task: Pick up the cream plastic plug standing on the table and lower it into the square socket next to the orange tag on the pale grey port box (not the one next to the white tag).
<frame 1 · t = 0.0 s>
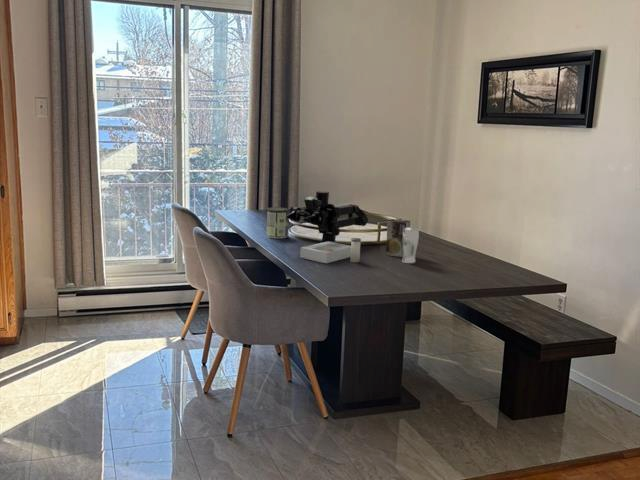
hand: (295, 218, 288), 17 cm above the table, tool horizontal, fingers open, 9 cm apart
coffee can: (276, 236, 330), on the table
coffee box: (396, 255, 302), on the table
plug: (354, 261, 286), on the table
beer glass: (408, 262, 289), on the table
port box: (326, 256, 291), on the table
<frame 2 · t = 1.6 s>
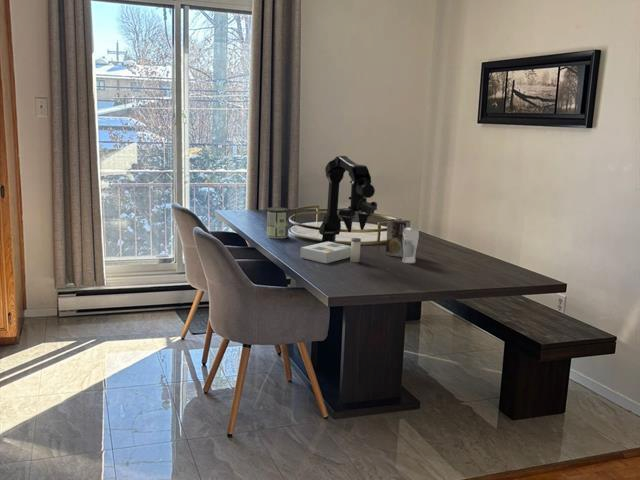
hand: (355, 231, 283), 13 cm above the table, tool pointing down, fingers open, 9 cm apart
nothing on the table moved.
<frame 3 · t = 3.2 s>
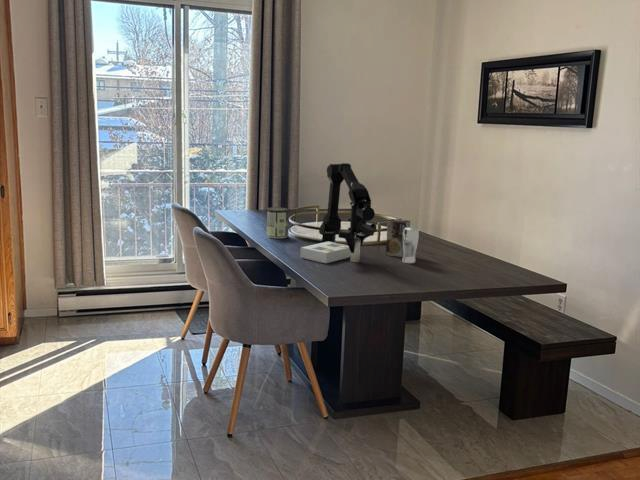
hand: (355, 252, 285), 4 cm above the table, tool pointing down, fingers closed on plug, 4 cm apart
plug: (354, 261, 286), on the table, touching gripper
everything else where it was.
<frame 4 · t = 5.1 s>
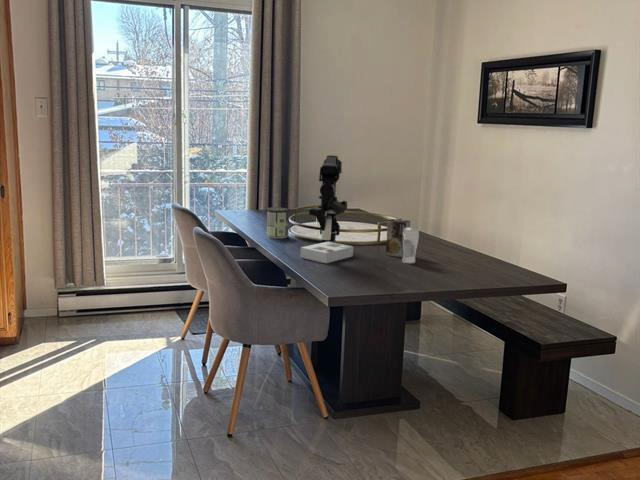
hand: (326, 229, 284), 13 cm above the table, tool pointing down, fingers closed on plug, 4 cm apart
plug: (325, 239, 285), point 9 cm above the table, touching gripper
everything else where it was.
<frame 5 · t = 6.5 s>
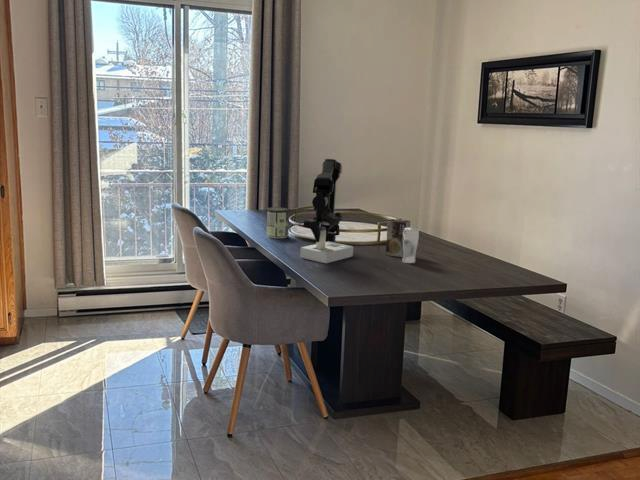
hand: (320, 241, 286), 8 cm above the table, tool pointing down, fingers closed on plug, 4 cm apart
plug: (320, 250, 287), point 4 cm above the table, touching gripper
everything else where it was.
when the fingers open (5 cm above the table, at t = 7.4 s): plug stays where it is, resting on port box.
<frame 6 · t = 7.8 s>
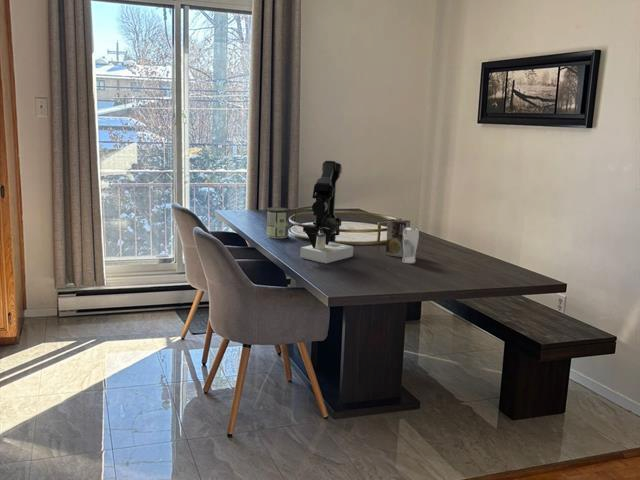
hand: (320, 246, 286), 5 cm above the table, tool pointing down, fingers open, 9 cm apart
plug: (320, 256, 287), point 1 cm above the table, touching port box
everything else where it was.
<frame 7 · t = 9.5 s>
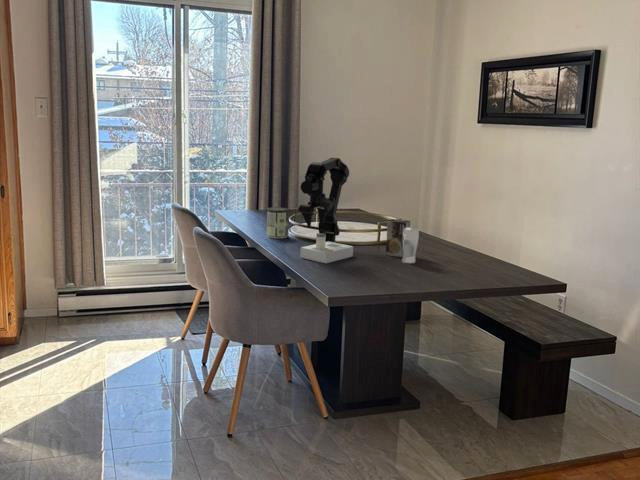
hand: (315, 225, 295), 13 cm above the table, tool pointing down, fingers open, 9 cm apart
nothing on the table moved.
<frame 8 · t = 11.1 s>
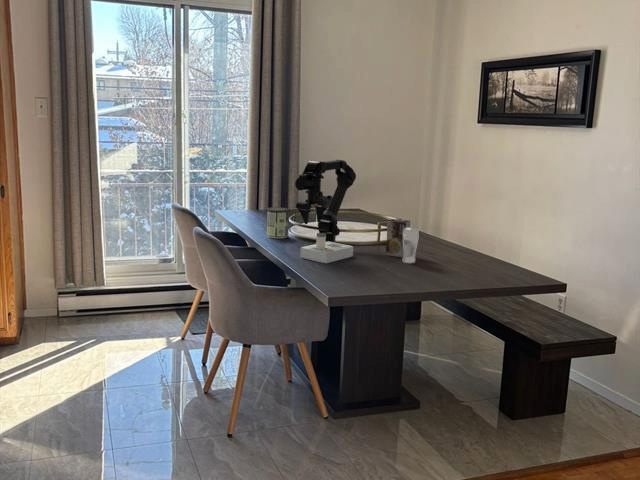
hand: (312, 223, 299), 13 cm above the table, tool pointing down, fingers open, 9 cm apart
nothing on the table moved.
at the end: plug 0.0 cm from the target spot on the port box, point 1.0 cm above the port box's base; plug tilted 1°; the gripper is holding nothing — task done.
